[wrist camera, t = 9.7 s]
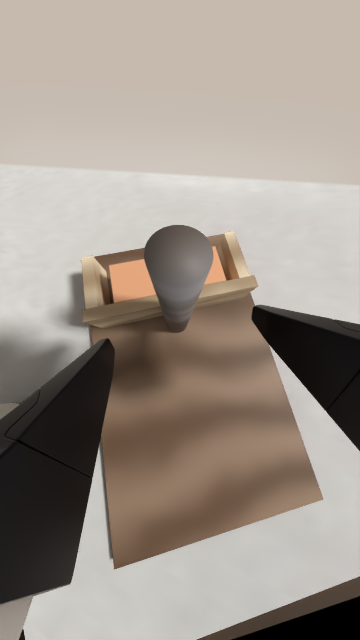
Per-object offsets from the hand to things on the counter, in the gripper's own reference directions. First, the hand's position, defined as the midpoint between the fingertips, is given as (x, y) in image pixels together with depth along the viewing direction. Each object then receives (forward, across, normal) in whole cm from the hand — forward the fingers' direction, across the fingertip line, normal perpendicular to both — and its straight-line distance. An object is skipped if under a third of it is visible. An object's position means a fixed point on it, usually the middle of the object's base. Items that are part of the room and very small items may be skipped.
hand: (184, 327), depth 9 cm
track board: (+4, 0, +8) cm, 9 cm away
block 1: (+10, +4, +1) cm, 11 cm away
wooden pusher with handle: (+9, 0, +1) cm, 10 cm away
